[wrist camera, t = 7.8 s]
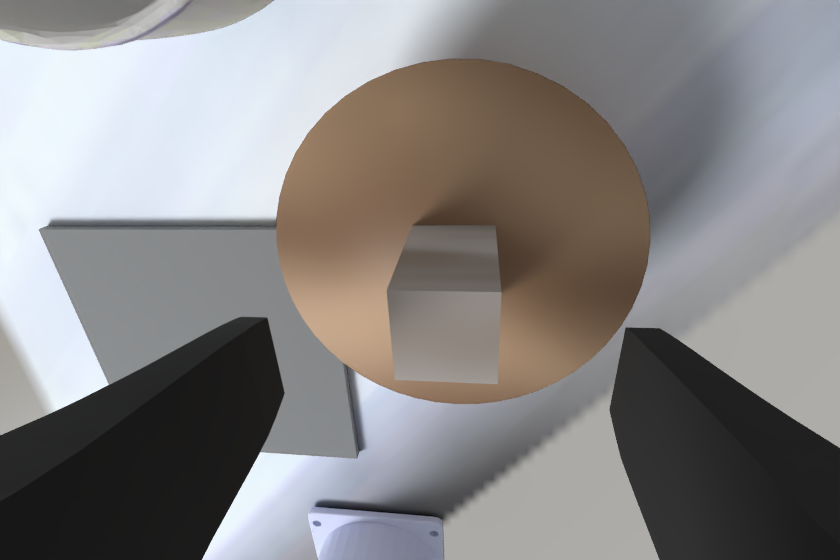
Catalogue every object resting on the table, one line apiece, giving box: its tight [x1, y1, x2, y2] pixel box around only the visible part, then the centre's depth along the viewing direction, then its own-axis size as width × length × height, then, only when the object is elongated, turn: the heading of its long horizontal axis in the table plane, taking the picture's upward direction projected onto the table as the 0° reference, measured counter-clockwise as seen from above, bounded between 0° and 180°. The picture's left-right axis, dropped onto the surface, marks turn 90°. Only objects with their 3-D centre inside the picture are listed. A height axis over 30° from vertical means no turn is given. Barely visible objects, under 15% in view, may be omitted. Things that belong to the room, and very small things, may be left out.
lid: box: [276, 59, 650, 404], centre depth 12 cm, size 11×11×5 cm
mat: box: [39, 226, 359, 459], centre depth 22 cm, size 13×13×1 cm
